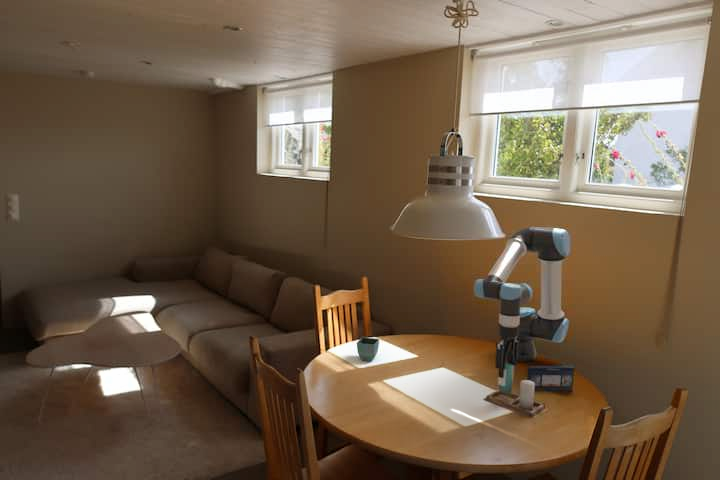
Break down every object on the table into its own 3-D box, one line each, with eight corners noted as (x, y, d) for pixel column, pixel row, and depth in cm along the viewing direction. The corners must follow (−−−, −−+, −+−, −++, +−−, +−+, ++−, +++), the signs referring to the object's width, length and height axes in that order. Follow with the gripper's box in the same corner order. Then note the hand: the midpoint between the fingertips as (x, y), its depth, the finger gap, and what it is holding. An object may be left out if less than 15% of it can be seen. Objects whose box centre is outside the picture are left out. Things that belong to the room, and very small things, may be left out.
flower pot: (356, 361, 240) (356, 342, 239) (361, 354, 248) (361, 336, 247) (374, 363, 238) (374, 345, 236) (379, 356, 246) (379, 338, 245)
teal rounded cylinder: (502, 386, 203) (504, 361, 202) (514, 390, 199) (515, 365, 198) (495, 389, 199) (497, 365, 198) (507, 394, 196) (509, 368, 195)
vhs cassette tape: (528, 391, 211) (529, 368, 209) (525, 388, 214) (527, 365, 212) (573, 391, 211) (575, 368, 209) (570, 388, 214) (572, 365, 212)
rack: (499, 392, 209) (499, 386, 208) (548, 410, 194) (549, 404, 193) (482, 401, 200) (482, 395, 200) (532, 421, 186) (533, 415, 185)
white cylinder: (523, 403, 197) (524, 378, 196) (535, 408, 194) (537, 382, 192) (516, 407, 194) (518, 382, 192) (528, 412, 190) (530, 386, 189)
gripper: (512, 317, 205) (508, 373, 208) (487, 327, 192) (484, 386, 196) (529, 322, 199) (526, 379, 203) (505, 331, 187) (501, 392, 190)
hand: (505, 382), depth 199 cm, fingers closed on teal rounded cylinder, 5 cm apart
